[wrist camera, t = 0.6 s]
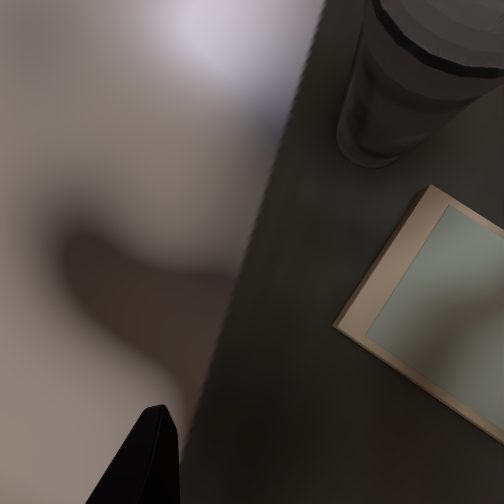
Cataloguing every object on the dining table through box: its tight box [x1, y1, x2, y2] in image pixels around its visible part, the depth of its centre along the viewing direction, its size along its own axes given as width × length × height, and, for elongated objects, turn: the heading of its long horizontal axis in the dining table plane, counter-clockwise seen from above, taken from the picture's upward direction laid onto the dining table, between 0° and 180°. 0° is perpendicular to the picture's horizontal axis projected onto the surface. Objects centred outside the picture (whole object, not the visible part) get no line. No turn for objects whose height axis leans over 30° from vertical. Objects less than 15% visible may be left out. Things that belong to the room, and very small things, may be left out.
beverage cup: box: [336, 0, 504, 168], centre depth 14 cm, size 7×7×20 cm
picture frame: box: [332, 184, 504, 445], centre depth 22 cm, size 12×10×2 cm
